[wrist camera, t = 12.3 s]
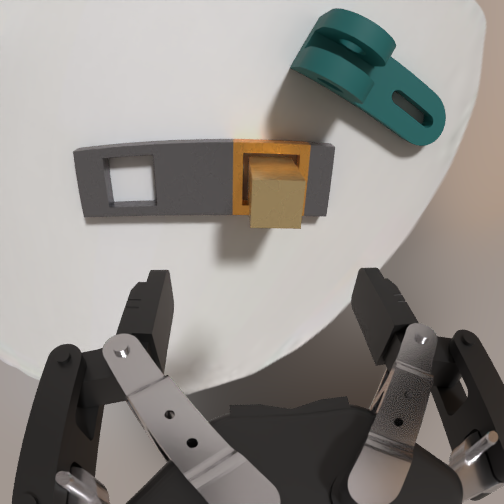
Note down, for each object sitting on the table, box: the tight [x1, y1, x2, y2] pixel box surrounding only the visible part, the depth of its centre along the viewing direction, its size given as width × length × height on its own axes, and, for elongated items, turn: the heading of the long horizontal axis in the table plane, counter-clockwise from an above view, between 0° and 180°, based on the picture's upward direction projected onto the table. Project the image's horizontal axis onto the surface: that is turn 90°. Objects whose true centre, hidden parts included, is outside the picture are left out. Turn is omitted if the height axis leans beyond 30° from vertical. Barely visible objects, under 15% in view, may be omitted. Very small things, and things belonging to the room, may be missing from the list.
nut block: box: [247, 156, 306, 229], centre depth 31 cm, size 4×4×8 cm
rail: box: [73, 139, 335, 217], centre depth 33 cm, size 8×28×2 cm, turn 89°
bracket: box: [290, 9, 446, 146], centre depth 26 cm, size 18×7×8 cm, turn 64°
